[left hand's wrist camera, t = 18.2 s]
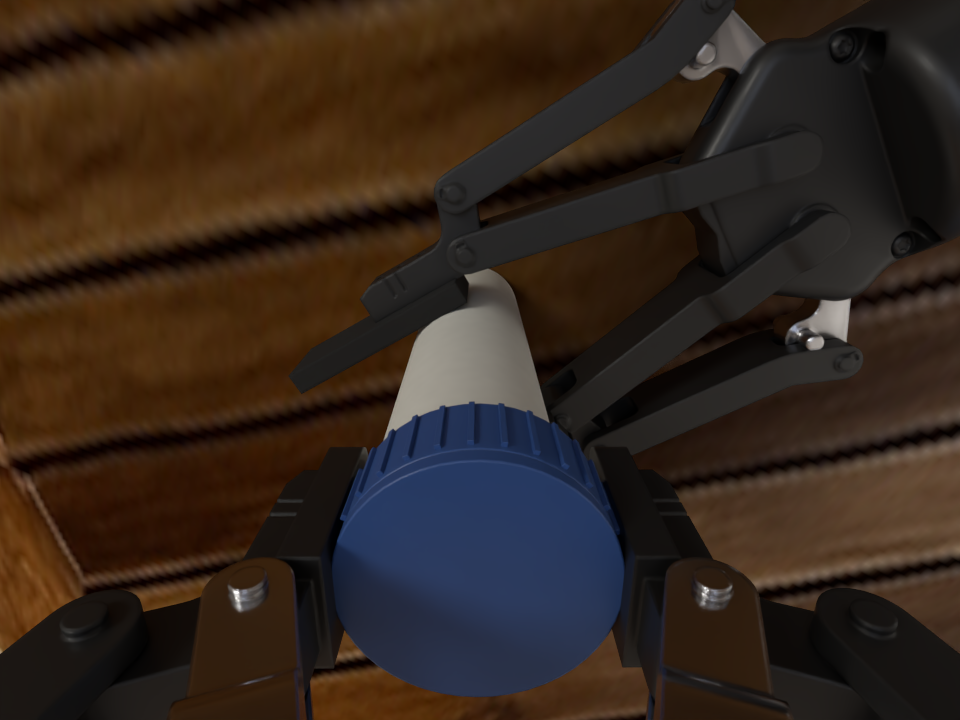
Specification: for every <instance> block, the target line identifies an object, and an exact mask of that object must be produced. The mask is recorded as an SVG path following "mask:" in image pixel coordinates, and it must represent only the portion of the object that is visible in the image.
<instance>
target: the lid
mask: <svg viewBox="0 0 960 720" xmlns="http://www.w3.org/2000/svg"><path fill="white" fill-rule="evenodd" d="M340 520H343V521H344V523H343V526H342V529H341V531H340V534H339V537H338V540H337V543H336V546H335V549H334V552H333V555H332V563H331V567H332V577H333V586H334V595H335V604H336V611H337V615H338V618H339V620H340V622H341V624H342V626H343V627H344V629H345V631H346V633H347V634H348V635H349V637H350V638H351V640H352V641H353V642H354V644H355V645H356V646H357V647H358V648H359V649H360V650H361V651H362V652H363V653H364V654H365V655H366V656H367V657H368V658H369V659H370V660H372V661H373V662H374V663H375V664H376V665H378V666H379V667H380V668H382V669H384V670H385V671H387V672H388V673H390V674H391V675H393V676H395V677H397V678H399V679H401V680H403V681H405V682H407V683H410V684H412V685H415V686H418V687H420V688H423V689H427V690H430V691H434V692H438V693H443V694H449V695H456V696H468V697H488V696H499V695H507V694H513V693H517V692H521V691H526V690H529V689H532V688H535V687H538V686H541V685H544V684H546V683H548V682H550V681H552V680H555V679H557V678H559V677H561V676H562V675H564V674H566V673H567V672H569V671H571V670H572V669H574V668H575V667H577V666H578V665H579V664H580V663H582V662H583V661H584V660H586V659H587V658H588V657H589V656H590V655H591V654H592V653H593V652H594V651H595V650H596V649H597V648H598V647H599V646H600V644H601V643H602V642H603V640H604V639H605V638H606V637H607V635H608V634H609V632H610V630H611V629H612V627H613V625H614V623H615V622H616V619H617V617H618V614H619V612H620V606H621V598H622V589H623V580H624V569H625V562H624V557H623V553H622V549H621V546H620V543H619V540H618V537H617V535H619V534H620V529H619V526H618V523H617V520H616V518H615V515H614V512H613V510H612V507H611V504H610V502H609V499H608V496H607V494H606V491H605V488H604V486H603V483H602V482H601V481H600V478H599V476H598V473H597V470H596V467H595V465H594V462H593V461H592V459H590V460H587V458H586V457H585V455H584V454H583V452H582V451H581V448H580V445H579V442H578V441H577V440H576V439H574V440H573V441H572V440H571V439H570V438H569V437H568V436H567V435H566V434H564V433H563V432H562V431H561V430H560V429H559V427H558V425H557V424H556V423H554V422H553V423H552V424H550V423H549V422H547V421H546V420H544V419H542V418H539V417H537V416H535V415H533V412H532V411H530V410H527V412H525V411H522V410H519V409H516V408H512V407H507V406H505V404H503V403H499V404H498V405H496V404H483V403H477V404H475V401H471V402H469V404H461V405H455V406H449V407H446V406H445V405H443V406H440V407H439V409H437V410H434V411H431V412H428V413H426V414H423V415H421V416H418V415H415V416H413V417H412V420H411V421H409V422H407V423H406V424H404V425H402V426H401V427H399V428H398V429H397V430H396V431H395V430H394V429H392V430H390V431H389V433H388V436H387V438H386V439H385V440H384V441H383V442H382V443H381V444H380V445H379V446H378V447H377V449H376V448H374V447H373V448H372V449H371V451H370V453H369V456H368V459H367V462H366V464H365V467H364V470H363V469H360V468H359V470H358V472H357V475H356V478H355V480H354V483H353V486H352V488H351V491H350V494H349V496H348V499H347V502H346V504H345V507H344V509H343V512H342V515H341V517H340Z"/></svg>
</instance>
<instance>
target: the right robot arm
mask: <svg viewBox="0 0 960 720" xmlns="http://www.w3.org/2000/svg"><path fill="white" fill-rule="evenodd" d="M735 1H736V0H674V1H673V2H672V3H671V4H670V5H669V6H668V8H667V9H666V10H665V11H664V13H663V14H662V15H661V16H660V18H659V19H658V20H657V21H656V23H655V24H654V25H653V26H652V28H651V29H650V30H649V31H648V33H647V34H646V35H645V36H644V38H643V39H642V40H641V41H640V43H639V44H638V45H637V47H636V48H635V49H634V50H633V52H632V53H630V54H628V55H627V56H625V57H624V58H622V59H621V60H619V61H618V62H616V63H615V64H613V65H611V66H610V67H608V68H607V69H605V70H604V71H602V72H601V73H599V74H598V75H596V76H595V77H593V78H591V79H590V80H588V81H587V82H585V83H584V84H582V85H581V86H579V87H578V88H576V89H574V90H573V91H571V92H570V93H568V94H567V95H565V96H564V97H562V98H561V99H559V100H558V101H556V102H554V103H553V104H551V105H550V106H548V107H547V108H545V109H544V110H542V111H541V112H539V113H537V114H536V115H534V116H533V117H531V118H530V119H528V120H527V121H525V122H524V123H522V124H521V125H519V126H517V127H516V128H514V129H513V130H511V131H510V132H508V133H507V134H505V135H504V136H502V137H500V138H499V139H497V140H496V141H494V142H493V143H491V144H490V145H488V146H487V147H485V148H484V149H482V150H480V151H479V152H477V153H476V154H474V155H473V156H471V157H470V158H468V159H467V160H465V161H464V162H462V163H460V164H459V165H457V166H456V167H454V168H453V169H451V170H450V171H448V172H447V173H445V174H444V175H443V176H442V177H441V178H440V179H439V180H438V181H437V183H436V185H435V188H434V197H435V200H436V203H437V206H438V211H439V217H440V222H441V230H442V232H441V237H440V239H439V240H438V241H437V242H436V243H434V244H433V245H431V246H430V247H428V248H426V249H425V250H423V251H421V252H419V253H418V254H416V255H414V256H412V257H411V258H409V259H407V260H406V261H404V262H402V263H401V264H399V265H397V266H395V267H394V268H392V269H390V270H388V271H387V272H385V273H383V274H381V275H380V276H378V277H376V279H375V280H374V281H373V282H372V284H371V285H370V286H369V288H368V289H367V290H366V292H365V293H364V294H363V296H362V297H361V298H360V300H361V302H362V303H363V305H364V306H365V308H366V309H367V311H368V312H369V314H370V316H368V317H367V318H365V319H363V320H361V321H360V322H358V323H356V324H354V325H353V326H351V327H349V328H347V329H346V330H344V331H342V332H340V333H338V334H337V335H335V336H333V337H331V338H330V339H328V340H326V341H324V342H323V343H321V344H319V345H317V346H316V347H314V348H312V349H311V350H310V351H309V352H308V353H307V355H306V356H305V357H304V358H303V359H302V361H301V362H300V363H299V364H298V365H297V367H296V368H295V369H294V370H293V371H292V373H291V374H290V375H289V377H290V379H291V380H292V381H293V383H294V384H295V386H296V387H297V388H298V390H299V391H300V392H301V394H302V393H304V392H306V391H308V390H310V389H311V388H313V387H315V386H317V385H319V384H320V383H322V382H324V381H326V380H328V379H329V378H331V377H333V376H335V375H337V374H339V373H340V372H342V371H344V370H346V369H348V368H349V367H351V366H353V365H355V364H357V363H358V362H360V361H362V360H364V359H366V358H368V357H369V356H371V355H373V354H375V353H377V352H378V351H380V350H382V349H384V348H386V347H388V346H389V345H391V344H393V343H395V342H397V341H398V340H400V339H402V338H404V337H406V336H407V335H409V334H411V333H413V332H415V331H417V330H418V329H420V328H422V327H424V326H426V325H427V324H429V323H431V322H433V321H435V320H436V319H438V318H440V317H442V316H444V315H446V314H447V313H449V312H451V311H453V310H455V309H456V308H458V307H460V306H462V305H464V304H465V303H467V298H468V289H469V282H468V281H467V279H466V277H465V275H467V274H473V273H476V272H479V271H482V270H485V269H489V268H492V267H495V266H498V265H501V264H505V263H508V262H511V261H514V260H517V259H521V258H524V257H527V256H530V255H533V254H537V253H540V252H543V251H546V250H549V249H553V248H556V247H559V246H562V245H565V244H568V243H572V242H575V241H578V240H581V239H584V238H588V237H591V236H594V235H597V234H600V233H604V232H607V231H610V230H613V229H616V228H620V227H623V226H626V225H629V224H632V223H636V222H639V221H642V220H645V219H648V218H652V217H655V216H658V215H662V214H667V213H676V212H681V211H682V212H683V213H684V214H685V215H686V217H687V218H688V219H689V220H690V221H691V223H692V224H693V225H694V227H695V232H696V240H697V248H698V251H699V254H700V255H698V256H697V257H696V258H695V259H693V260H692V261H691V262H690V263H688V264H687V265H686V266H685V267H683V268H682V269H681V270H680V272H679V273H678V275H677V278H676V279H675V281H673V282H672V283H671V284H670V285H669V286H667V287H666V288H665V289H663V290H662V291H661V292H660V293H658V294H657V295H656V296H655V297H653V298H652V299H651V300H649V301H648V302H647V303H646V304H644V305H643V306H642V307H641V308H639V309H638V310H637V311H635V312H634V313H633V314H632V315H630V316H629V317H628V318H627V319H625V320H624V321H623V322H621V323H620V324H619V325H618V326H616V327H615V328H614V329H613V330H611V331H610V332H609V333H607V334H606V335H605V336H604V337H602V338H601V339H600V340H598V341H597V342H596V343H595V344H593V345H592V346H591V347H590V348H588V349H587V350H586V351H584V352H583V353H582V354H581V355H579V356H578V357H577V358H576V359H574V360H573V361H572V362H570V363H569V364H568V365H567V366H565V367H564V368H563V369H562V370H560V371H559V372H558V373H556V374H555V375H554V376H553V377H551V378H550V379H549V380H548V381H546V382H545V383H544V384H543V385H542V386H541V387H540V390H541V393H542V397H543V401H544V404H545V408H546V412H547V415H548V419H549V423H550V424H552V423H553V422H554V423H556V424H557V425H558V427H559V429H560V430H561V431H562V432H563V433H564V434H566V435H567V436H568V437H569V438H570V439H571V440H572V441H573V440H574V439H576V440H577V441H578V442H579V445H580V448H581V451H582V452H583V454H584V455H585V457H586V458H587V460H589V453H590V449H591V447H627V448H628V450H629V452H630V454H631V456H632V455H634V454H636V453H639V452H641V451H643V450H646V449H648V448H650V447H652V446H655V445H657V444H659V443H662V442H664V441H666V440H669V439H671V438H673V437H675V436H678V435H680V434H682V433H685V432H687V431H689V430H691V429H694V428H696V427H698V426H701V425H703V424H705V423H708V422H710V421H712V420H714V419H717V418H719V417H721V416H724V415H726V414H728V413H730V412H733V411H735V410H737V409H740V408H742V407H744V406H747V405H749V404H751V403H753V402H756V401H758V400H760V399H763V398H765V397H767V396H769V395H772V394H774V393H776V392H779V391H781V390H783V389H786V388H788V387H790V386H792V385H799V384H808V383H816V382H824V381H832V380H841V379H846V378H849V377H851V376H853V375H854V374H856V373H857V372H858V371H859V369H860V368H861V366H862V363H863V354H862V353H861V351H860V350H859V349H858V348H856V347H854V346H852V345H850V344H848V343H847V331H848V321H849V311H850V301H851V298H853V297H855V296H857V295H859V294H861V293H862V292H864V291H865V290H866V289H867V288H868V287H869V286H870V285H871V284H872V283H873V282H874V281H875V279H876V278H877V277H878V276H879V275H880V274H881V273H882V272H883V271H884V270H885V269H886V268H888V267H889V266H890V265H891V264H893V263H894V262H896V261H898V260H899V259H902V258H904V257H907V256H910V255H912V254H915V253H918V252H921V251H924V250H927V249H930V248H933V247H936V246H938V245H941V244H943V243H946V242H948V241H950V240H952V239H954V238H956V237H958V236H960V0H871V1H869V2H867V3H865V4H864V5H862V6H860V7H859V8H857V9H855V10H853V11H852V12H850V13H848V14H846V15H845V16H843V17H841V18H840V19H838V20H836V21H834V22H833V23H831V24H829V25H827V26H826V27H824V28H822V29H820V30H819V31H817V32H815V33H814V34H812V35H810V36H808V37H805V38H785V39H778V40H774V41H771V42H769V43H767V44H765V43H764V42H763V41H762V40H761V39H760V38H759V37H758V36H757V35H756V34H755V32H754V31H753V30H752V29H751V28H750V27H749V26H748V25H747V24H746V23H745V22H744V21H743V20H742V19H741V18H740V17H739V16H738V14H737V13H736V12H735V11H734V10H733V8H734V6H735ZM713 71H718V72H721V73H723V74H724V75H725V76H726V77H725V79H724V81H723V83H722V85H721V87H720V88H719V90H718V92H717V94H716V96H715V97H714V99H713V101H712V103H711V105H710V107H709V108H708V110H707V112H706V114H705V116H704V117H703V119H702V121H701V123H700V125H699V127H698V128H697V130H696V132H695V134H694V136H693V137H692V139H691V141H690V143H689V145H688V147H687V148H686V150H685V152H684V153H683V154H680V155H676V156H673V157H670V158H667V159H664V160H661V161H658V162H655V163H652V164H649V165H646V166H643V167H641V168H639V169H637V170H635V171H632V172H630V173H626V174H623V175H620V176H617V177H614V178H611V179H608V180H605V181H602V182H599V183H596V184H592V185H589V186H586V187H583V188H580V189H577V190H574V191H571V192H568V193H565V194H562V195H558V196H555V197H552V198H549V199H546V200H543V201H540V202H537V203H534V204H531V205H528V206H524V207H521V208H518V209H515V210H512V211H509V212H506V213H503V214H500V215H497V216H494V217H490V218H487V219H484V220H481V221H480V217H479V210H478V204H477V203H478V202H479V201H481V200H482V199H484V198H486V197H487V196H489V195H490V194H492V193H494V192H495V191H497V190H498V189H500V188H502V187H503V186H505V185H506V184H508V183H509V182H511V181H513V180H514V179H516V178H517V177H519V176H521V175H522V174H524V173H525V172H527V171H529V170H530V169H532V168H533V167H535V166H536V165H538V164H540V163H541V162H543V161H544V160H546V159H548V158H549V157H551V156H552V155H554V154H556V153H557V152H559V151H560V150H562V149H564V148H565V147H567V146H568V145H570V144H571V143H573V142H575V141H576V140H578V139H579V138H581V137H583V136H584V135H586V134H587V133H589V132H591V131H592V130H594V129H595V128H597V127H598V126H600V125H602V124H603V123H605V122H606V121H608V120H610V119H611V118H613V117H614V116H616V115H618V114H619V113H621V112H622V111H624V110H626V109H627V108H629V107H630V106H632V105H633V104H635V103H637V102H638V101H640V100H641V99H643V98H645V97H646V96H648V95H649V94H651V93H653V92H654V91H656V90H657V89H659V88H660V87H661V86H663V85H664V84H666V83H667V82H668V81H670V80H671V79H674V80H675V81H677V82H679V83H690V82H693V81H697V80H700V79H702V78H705V77H706V76H707V75H709V74H710V73H712V72H713ZM771 295H781V296H790V297H799V298H806V299H805V301H804V303H803V304H802V306H801V307H800V308H799V309H797V310H796V311H794V312H792V313H789V314H786V315H782V316H778V317H777V318H776V319H775V320H774V322H773V327H774V329H770V330H764V331H760V332H756V333H753V334H750V335H747V336H745V337H742V338H740V339H737V340H735V341H733V342H731V343H728V344H726V345H724V346H722V347H720V348H718V349H715V350H713V351H711V352H709V353H707V354H704V355H702V356H700V357H698V358H696V359H694V360H691V361H689V362H687V363H685V364H683V365H680V366H678V367H676V368H674V369H672V370H670V371H667V372H665V373H663V374H661V375H659V376H656V377H654V378H652V379H650V380H648V381H646V382H643V381H644V380H645V379H647V378H648V377H649V376H651V375H652V374H653V373H655V372H656V371H657V370H659V369H660V368H661V367H663V366H664V365H665V364H667V363H668V362H669V361H671V360H672V359H673V358H675V357H676V356H677V355H679V354H680V353H681V352H683V351H684V350H685V349H687V348H688V347H689V346H691V345H692V344H694V343H695V342H696V341H698V340H699V339H700V338H702V337H703V336H704V335H706V334H707V333H708V332H710V331H711V330H712V329H714V328H715V327H716V326H718V325H720V324H722V323H728V322H732V321H735V320H737V319H739V318H741V317H742V316H744V315H745V314H746V313H748V312H749V311H750V310H752V309H753V308H754V307H756V306H757V305H758V304H760V303H761V302H763V301H764V300H765V299H767V298H768V297H769V296H771ZM641 382H643V383H641ZM640 383H641V384H640Z"/></svg>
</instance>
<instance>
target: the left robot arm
mask: <svg viewBox="0 0 960 720" xmlns="http://www.w3.org/2000/svg"><path fill="white" fill-rule="evenodd" d="M367 459H368V453H367V449H366V448H365V447H331V448H330V449H329V450H328V452H327V454H326V456H325V458H324V460H323V462H322V464H321V466H320V468H319V470H304V471H303V472H301V473H300V474H299V475H298V476H296V477H295V478H294V479H292V480H291V481H290V482H288V483H287V484H286V486H285V488H284V489H283V491H282V493H281V495H280V496H279V498H278V500H277V503H275V505H274V507H273V508H272V510H271V512H270V516H269V517H267V519H266V521H265V522H264V524H263V526H262V528H261V529H260V531H259V533H258V534H257V536H256V538H255V540H254V541H253V543H252V545H251V547H250V548H249V550H248V552H247V554H246V555H245V557H244V559H243V561H240V562H238V563H235V564H233V565H231V566H229V567H227V568H225V569H223V570H222V571H220V572H219V573H218V574H216V575H215V576H214V577H213V578H212V579H211V580H210V581H209V582H208V583H207V585H206V586H205V588H204V589H203V591H202V594H201V597H199V598H196V599H194V600H191V601H187V602H184V603H180V604H176V605H171V606H167V607H163V608H159V609H154V610H150V611H146V612H143V608H142V605H141V602H140V599H139V598H138V597H137V596H136V595H135V594H133V593H131V592H128V591H124V590H106V591H100V592H95V593H92V594H89V595H85V596H83V597H80V598H78V599H75V600H73V601H71V602H69V603H67V604H65V605H64V606H62V607H60V608H59V609H57V610H56V611H54V612H53V613H52V614H50V615H49V616H48V617H46V618H45V619H44V620H43V621H41V622H40V623H39V624H38V625H36V626H35V627H34V628H33V629H31V630H30V631H29V632H28V633H26V634H25V635H24V636H22V637H21V638H20V639H19V640H17V641H16V642H15V643H14V644H12V645H11V646H10V647H9V648H7V649H6V650H5V651H4V652H2V653H1V654H0V720H314V713H313V701H312V694H311V687H310V680H311V677H312V674H313V670H314V668H334V665H335V662H336V658H337V655H338V651H339V647H340V644H341V640H342V637H343V633H344V630H345V629H344V627H343V626H342V624H341V622H340V620H339V618H338V615H337V611H336V604H335V595H334V586H333V577H332V567H331V563H332V555H333V552H334V549H335V546H336V543H337V540H338V537H339V534H340V531H341V529H342V526H343V523H344V521H343V520H340V517H341V515H342V512H343V509H344V507H345V504H346V502H347V499H348V496H349V494H350V491H351V488H352V486H353V483H354V480H355V478H356V475H357V472H358V470H359V468H360V469H363V470H364V467H365V464H366V462H367ZM590 459H592V461H593V462H594V465H595V467H596V470H597V473H598V476H599V478H600V481H601V482H602V483H603V486H604V488H605V491H606V494H607V496H608V499H609V502H610V504H611V507H612V510H613V512H614V515H615V518H616V520H617V523H618V526H619V529H620V534H619V535H617V537H618V540H619V543H620V546H621V549H622V553H623V557H624V562H625V569H624V580H623V589H622V598H621V606H620V612H619V614H618V617H617V619H616V622H615V623H614V625H613V627H612V630H613V634H614V638H615V641H616V645H617V649H618V652H619V656H620V660H621V663H622V667H642V669H643V673H644V676H645V679H646V682H647V686H648V688H649V694H648V701H647V713H646V720H960V654H959V653H958V652H956V651H955V650H954V649H953V648H951V647H950V646H949V645H948V644H946V643H945V642H944V641H943V640H941V639H940V638H939V637H937V636H936V635H935V634H934V633H932V632H931V631H930V630H929V629H927V628H926V627H925V626H924V625H922V624H921V623H920V622H919V621H917V620H916V619H915V618H914V617H912V616H911V615H910V614H909V613H907V612H906V611H904V610H903V609H902V608H900V607H899V606H897V605H895V604H894V603H892V602H890V601H888V600H886V599H884V598H882V597H879V596H877V595H874V594H872V593H868V592H865V591H861V590H857V589H850V588H836V589H830V590H827V591H825V592H824V593H822V594H821V595H820V596H819V597H818V600H817V603H816V607H815V610H814V611H810V610H806V609H801V608H797V607H793V606H788V605H784V604H780V603H776V602H772V601H768V600H765V599H762V598H759V594H758V591H757V590H756V588H755V586H754V585H753V583H752V582H751V581H750V580H749V579H748V578H747V577H746V576H745V575H744V574H742V573H741V572H740V571H738V570H737V569H735V568H733V567H731V566H729V565H727V564H725V563H722V562H720V561H717V560H713V558H712V556H711V555H710V553H709V551H708V549H707V547H706V546H705V544H704V542H703V540H702V539H701V537H700V535H699V533H698V532H697V530H696V528H695V526H694V525H693V523H692V521H691V519H690V518H689V516H687V512H686V510H685V509H684V507H683V505H682V503H681V502H679V498H678V496H677V495H676V493H675V491H674V489H673V488H672V486H671V484H670V483H669V482H668V481H666V480H665V479H664V478H663V477H661V476H660V475H659V474H657V473H656V472H655V471H654V470H638V468H637V466H636V464H635V462H634V460H633V458H632V456H631V454H630V452H629V450H628V448H627V447H591V449H590V453H589V460H590Z"/></svg>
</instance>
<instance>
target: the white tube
mask: <svg viewBox="0 0 960 720" xmlns="http://www.w3.org/2000/svg"><path fill="white" fill-rule="evenodd" d="M465 277H466V279H467V281H468V282H469V289H468V298H467V303H465V304H464V305H462V306H460V307H458V308H456V309H455V310H453V311H451V312H449V313H447V314H446V315H444V316H442V317H440V318H438V319H436V320H435V321H433V322H431V323H429V324H427V325H426V326H424V327H422V328H420V329H419V330H418V333H417V336H416V340H415V343H414V346H413V349H412V352H411V355H410V359H409V362H408V365H407V368H406V371H405V374H404V378H403V381H402V384H401V387H400V390H399V393H398V397H397V400H396V403H395V406H394V409H393V412H392V416H391V419H390V422H389V425H388V428H387V431H386V435H385V438H384V440H385V439H386V438H387V436H388V433H389V431H390V430H392V429H394V430H395V431H396V430H397V429H398V428H399V427H401V426H402V425H404V424H406V423H407V422H409V421H411V420H412V417H413V416H415V415H418V416H421V415H423V414H426V413H428V412H431V411H434V410H437V409H439V407H440V406H443V405H445V406H446V407H449V406H455V405H461V404H469V402H471V401H475V404H477V403H483V404H496V405H498V404H499V403H503V404H505V406H507V407H512V408H516V409H519V410H522V411H525V412H527V410H530V411H532V412H533V415H535V416H537V417H539V418H542V419H544V420H546V421H547V422H549V419H548V415H547V412H546V408H545V404H544V401H543V397H542V393H541V390H540V386H539V382H538V379H537V375H536V371H535V368H534V364H533V360H532V357H531V353H530V349H529V346H528V342H527V338H526V335H525V331H524V327H523V324H522V320H521V316H520V313H519V309H518V305H517V302H516V298H515V295H514V292H513V290H512V288H511V287H510V285H509V284H508V283H507V281H506V280H505V279H504V278H503V277H502V276H500V275H499V274H498V273H496V272H494V271H492V270H490V269H485V270H482V271H479V272H476V273H473V274H467V275H465Z"/></svg>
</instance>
